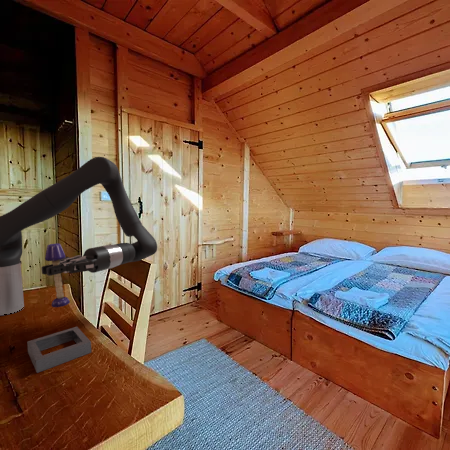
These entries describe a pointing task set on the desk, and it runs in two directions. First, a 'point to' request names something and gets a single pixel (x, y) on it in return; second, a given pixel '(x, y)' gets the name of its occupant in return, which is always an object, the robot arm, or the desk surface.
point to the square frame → (60, 355)
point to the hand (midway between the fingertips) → (45, 271)
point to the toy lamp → (54, 255)
